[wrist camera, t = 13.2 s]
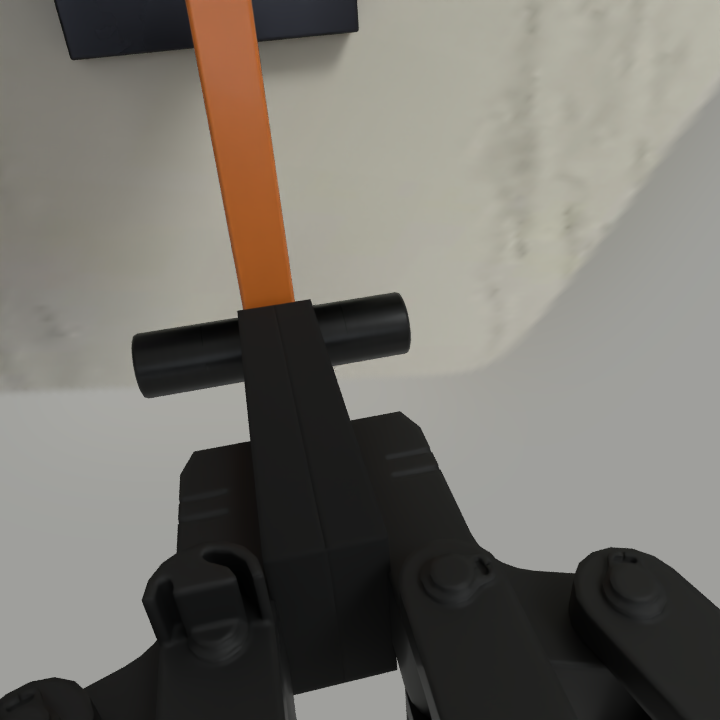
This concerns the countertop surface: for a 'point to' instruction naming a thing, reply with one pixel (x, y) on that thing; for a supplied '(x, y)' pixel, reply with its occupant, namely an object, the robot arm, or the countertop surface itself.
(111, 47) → the switch bracket
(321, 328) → the switch lever
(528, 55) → the countertop surface
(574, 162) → the countertop surface
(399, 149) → the countertop surface
